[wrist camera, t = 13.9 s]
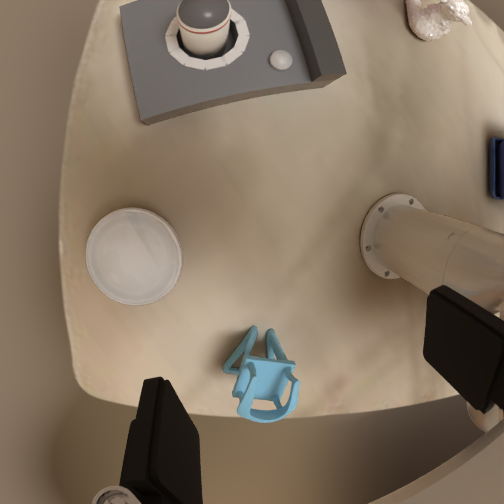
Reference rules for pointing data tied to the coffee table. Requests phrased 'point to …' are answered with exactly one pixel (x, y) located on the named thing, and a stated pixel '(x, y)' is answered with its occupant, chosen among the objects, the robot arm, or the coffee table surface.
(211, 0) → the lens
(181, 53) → the camera body
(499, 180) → the flower pot
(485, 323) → the robot arm
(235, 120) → the coffee table surface
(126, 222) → the ramekin
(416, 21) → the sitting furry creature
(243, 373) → the chair
